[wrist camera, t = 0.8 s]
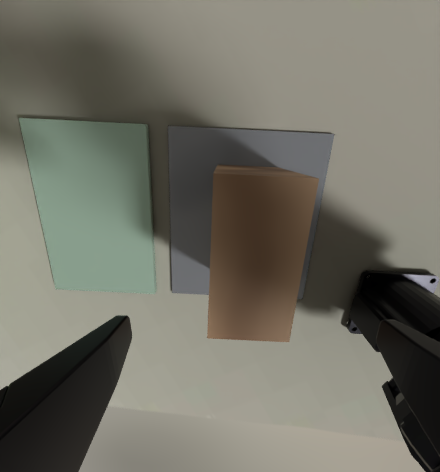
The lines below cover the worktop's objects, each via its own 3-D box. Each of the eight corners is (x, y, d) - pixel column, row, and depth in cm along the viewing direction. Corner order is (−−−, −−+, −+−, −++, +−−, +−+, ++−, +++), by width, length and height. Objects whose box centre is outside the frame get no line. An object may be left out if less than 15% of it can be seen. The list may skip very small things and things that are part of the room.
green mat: (147, 124, 17) (145, 124, 17) (156, 290, 22) (154, 294, 21) (24, 118, 17) (18, 117, 17) (59, 286, 22) (55, 289, 21)
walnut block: (278, 167, 18) (319, 178, 10) (265, 273, 21) (289, 342, 13) (217, 164, 18) (213, 173, 10) (213, 270, 21) (207, 338, 13)
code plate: (333, 134, 17) (334, 134, 17) (301, 297, 22) (302, 299, 22) (168, 125, 17) (167, 125, 17) (172, 291, 22) (172, 293, 22)
